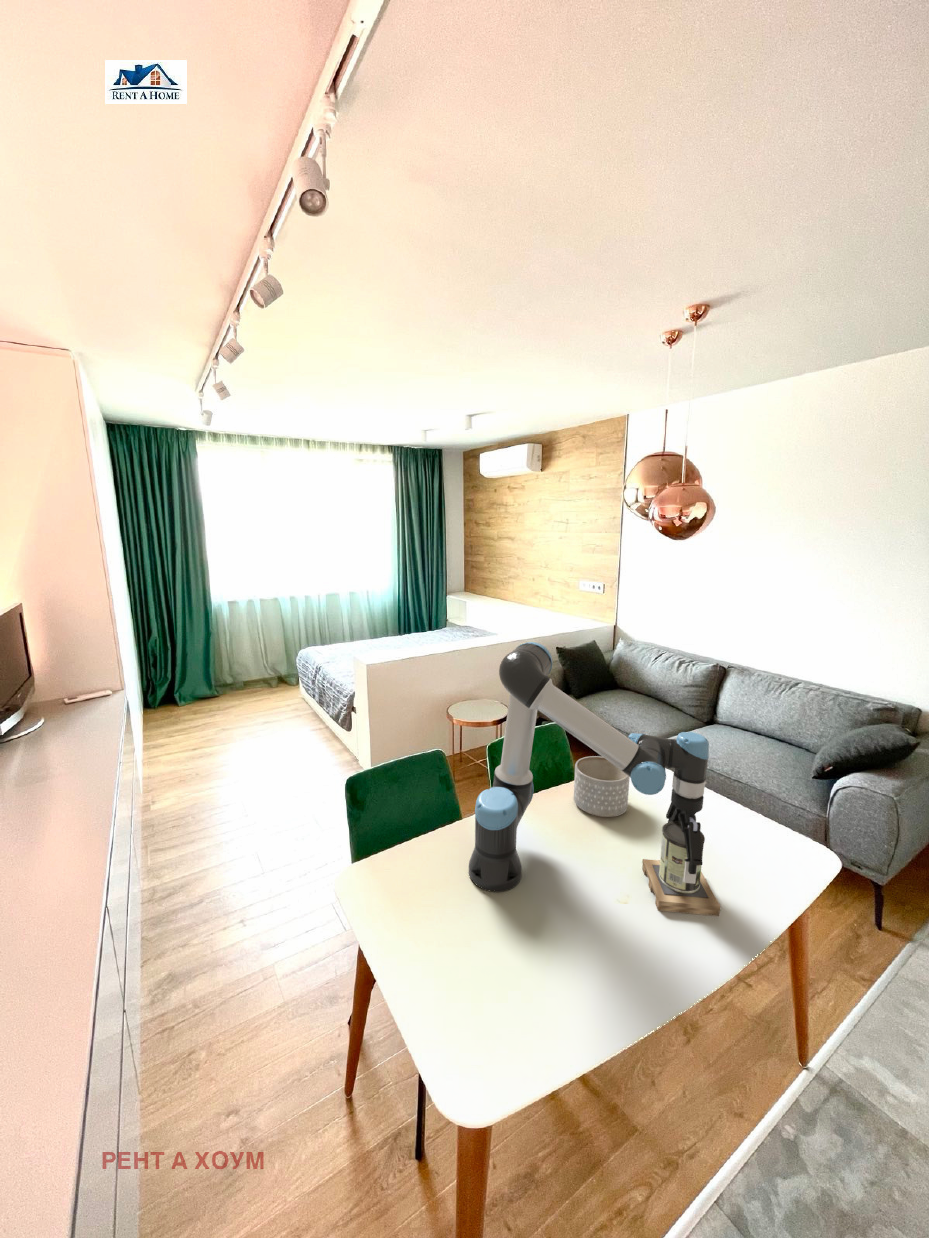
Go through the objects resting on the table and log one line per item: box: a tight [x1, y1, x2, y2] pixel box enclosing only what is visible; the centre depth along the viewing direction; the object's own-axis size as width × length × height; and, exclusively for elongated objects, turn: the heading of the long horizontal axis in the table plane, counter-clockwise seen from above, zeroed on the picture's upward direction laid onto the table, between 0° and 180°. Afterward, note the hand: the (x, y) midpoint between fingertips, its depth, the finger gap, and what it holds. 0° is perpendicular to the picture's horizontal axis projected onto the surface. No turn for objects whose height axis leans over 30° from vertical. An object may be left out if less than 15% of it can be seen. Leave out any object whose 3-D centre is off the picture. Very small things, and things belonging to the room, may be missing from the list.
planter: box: [573, 755, 631, 818], centre depth 167 cm, size 19×19×14 cm
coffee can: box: [659, 821, 706, 893], centre depth 126 cm, size 10×10×14 cm
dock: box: [641, 858, 722, 917], centre depth 127 cm, size 15×16×3 cm
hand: (680, 863), depth 126 cm, fingers open, 13 cm apart
